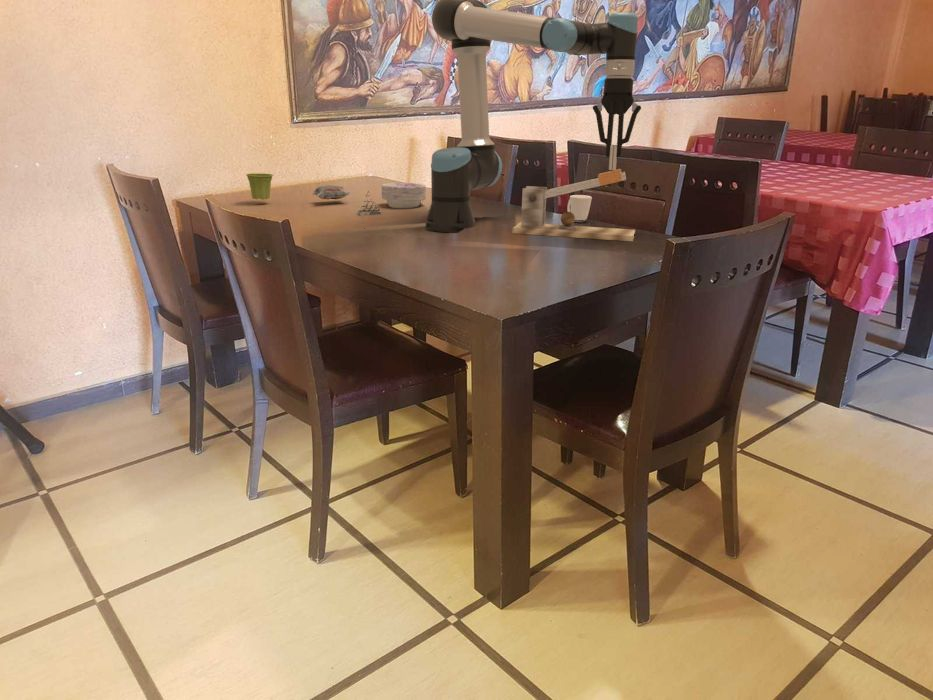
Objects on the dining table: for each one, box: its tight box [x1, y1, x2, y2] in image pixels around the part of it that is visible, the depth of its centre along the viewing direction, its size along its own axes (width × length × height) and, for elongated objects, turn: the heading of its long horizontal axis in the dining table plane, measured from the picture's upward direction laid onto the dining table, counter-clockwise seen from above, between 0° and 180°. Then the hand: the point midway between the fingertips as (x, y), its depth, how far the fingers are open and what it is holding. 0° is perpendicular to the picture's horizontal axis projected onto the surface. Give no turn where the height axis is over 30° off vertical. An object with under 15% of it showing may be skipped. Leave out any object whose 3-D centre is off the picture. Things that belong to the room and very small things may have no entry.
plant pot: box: [245, 172, 274, 200], centre depth 254 cm, size 9×9×9 cm
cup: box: [566, 194, 593, 221], centre depth 218 cm, size 7×10×8 cm
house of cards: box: [357, 190, 382, 217], centre depth 229 cm, size 9×9×8 cm
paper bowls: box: [381, 182, 427, 209], centre depth 240 cm, size 15×15×8 cm
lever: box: [544, 168, 627, 199], centre depth 195 cm, size 28×4×4 cm, turn 74°
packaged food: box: [312, 185, 350, 201], centre depth 253 cm, size 9×12×5 cm
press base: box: [512, 185, 636, 242], centre depth 198 cm, size 34×10×12 cm, turn 74°
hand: (612, 169), depth 191 cm, fingers closed
